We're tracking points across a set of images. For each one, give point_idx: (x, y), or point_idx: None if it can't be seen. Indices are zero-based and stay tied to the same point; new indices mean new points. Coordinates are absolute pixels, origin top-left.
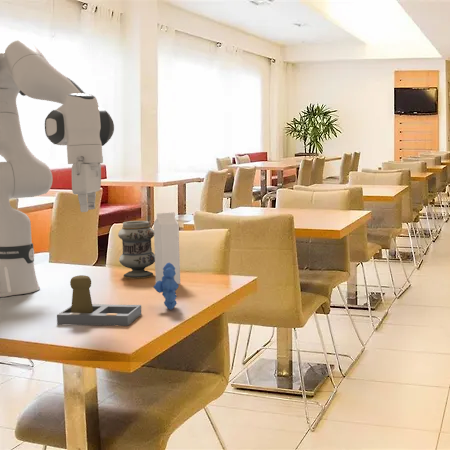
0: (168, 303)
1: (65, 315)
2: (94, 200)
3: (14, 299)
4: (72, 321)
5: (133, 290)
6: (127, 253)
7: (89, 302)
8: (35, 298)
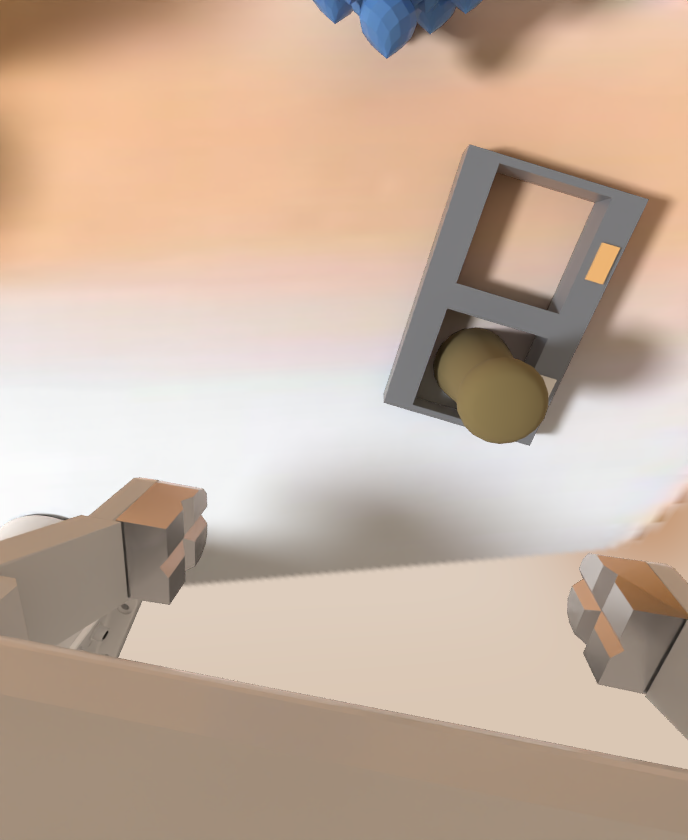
0: (452, 6)
1: None
2: (86, 538)
3: None
4: None
5: (40, 197)
6: None
7: (506, 351)
8: None
